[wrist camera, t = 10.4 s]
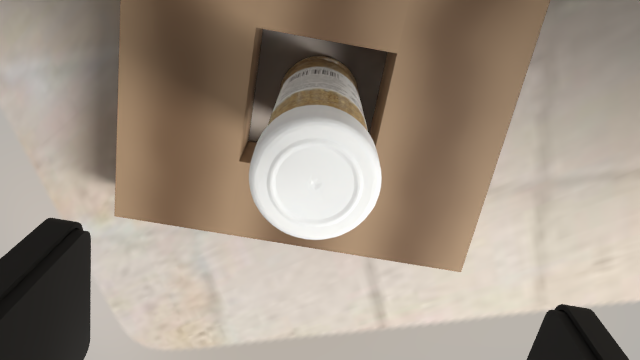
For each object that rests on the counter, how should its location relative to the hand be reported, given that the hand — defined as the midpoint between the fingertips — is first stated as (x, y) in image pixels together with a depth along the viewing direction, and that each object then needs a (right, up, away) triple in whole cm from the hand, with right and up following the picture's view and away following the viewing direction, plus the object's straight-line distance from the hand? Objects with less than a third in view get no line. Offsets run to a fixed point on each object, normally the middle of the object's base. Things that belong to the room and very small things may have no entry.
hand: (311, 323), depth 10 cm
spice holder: (0, +8, +19) cm, 21 cm away
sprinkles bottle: (0, +8, +19) cm, 21 cm away
